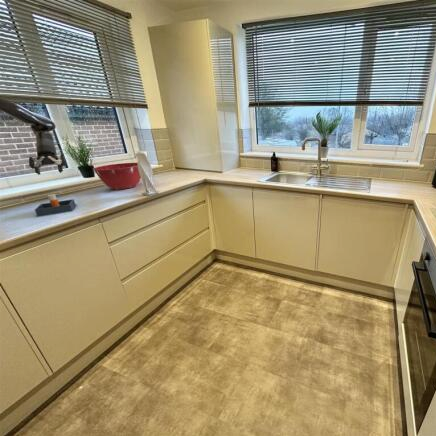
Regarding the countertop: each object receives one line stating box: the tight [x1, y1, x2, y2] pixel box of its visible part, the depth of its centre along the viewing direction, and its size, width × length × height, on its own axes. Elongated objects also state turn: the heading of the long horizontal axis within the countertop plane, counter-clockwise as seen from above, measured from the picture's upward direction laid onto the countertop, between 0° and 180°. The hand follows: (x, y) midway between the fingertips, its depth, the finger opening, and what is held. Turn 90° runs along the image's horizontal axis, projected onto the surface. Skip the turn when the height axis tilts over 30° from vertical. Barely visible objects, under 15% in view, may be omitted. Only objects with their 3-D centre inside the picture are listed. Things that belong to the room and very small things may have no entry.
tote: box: [34, 199, 77, 217], centre depth 124 cm, size 13×11×4 cm
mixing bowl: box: [92, 162, 141, 191], centre depth 168 cm, size 28×28×15 cm
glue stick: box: [46, 193, 60, 207], centre depth 123 cm, size 3×3×8 cm
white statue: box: [133, 148, 160, 197], centre depth 148 cm, size 8×8×28 cm
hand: (49, 172), depth 127 cm, fingers open, 8 cm apart
